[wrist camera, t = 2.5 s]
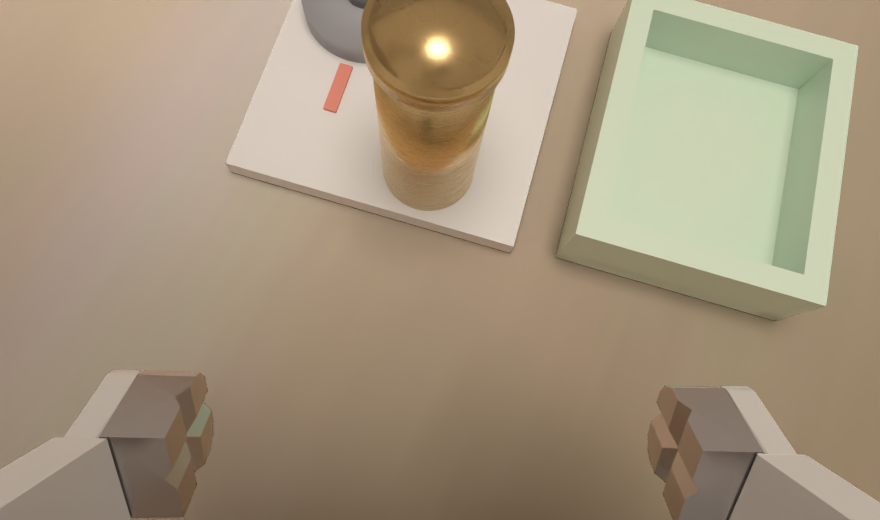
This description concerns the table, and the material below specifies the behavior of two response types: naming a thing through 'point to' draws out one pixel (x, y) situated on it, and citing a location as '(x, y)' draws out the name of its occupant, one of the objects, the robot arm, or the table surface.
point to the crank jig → (356, 126)
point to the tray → (714, 158)
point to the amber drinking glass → (434, 90)
